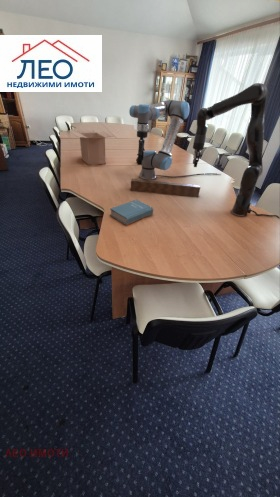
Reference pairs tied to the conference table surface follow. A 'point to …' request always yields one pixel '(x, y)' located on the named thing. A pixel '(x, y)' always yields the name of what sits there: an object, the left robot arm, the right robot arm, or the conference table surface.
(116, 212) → the book
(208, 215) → the conference table surface
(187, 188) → the beam
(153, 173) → the left robot arm
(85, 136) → the box
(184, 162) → the conference table surface
